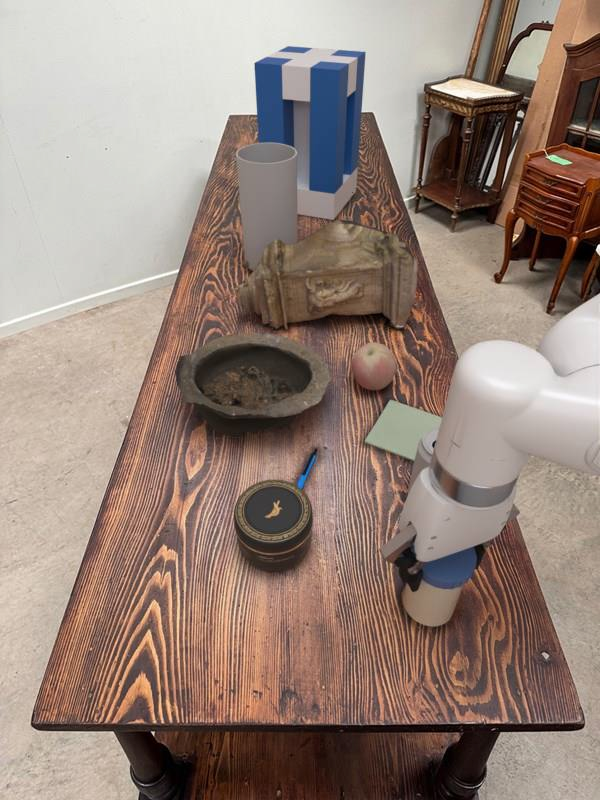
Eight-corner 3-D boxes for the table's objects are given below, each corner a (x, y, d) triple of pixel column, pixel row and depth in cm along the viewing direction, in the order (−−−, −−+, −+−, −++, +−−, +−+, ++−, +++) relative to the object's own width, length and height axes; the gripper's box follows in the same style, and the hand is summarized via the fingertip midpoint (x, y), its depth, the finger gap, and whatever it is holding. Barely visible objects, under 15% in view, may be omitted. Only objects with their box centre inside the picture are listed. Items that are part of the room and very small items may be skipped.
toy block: (356, 190, 159) (365, 51, 135) (333, 219, 144) (339, 70, 121) (290, 181, 164) (288, 46, 140) (262, 208, 150) (254, 62, 126)
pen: (318, 451, 84) (318, 446, 83) (273, 554, 71) (273, 549, 70) (313, 450, 84) (313, 445, 84) (267, 552, 71) (267, 547, 70)
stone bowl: (177, 463, 82) (166, 417, 76) (190, 368, 101) (182, 326, 95) (338, 451, 83) (340, 404, 77) (320, 360, 102) (321, 317, 97)
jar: (313, 513, 75) (314, 479, 70) (310, 579, 68) (311, 546, 63) (243, 510, 76) (238, 475, 71) (232, 575, 69) (226, 542, 63)
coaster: (452, 422, 88) (453, 421, 88) (431, 468, 81) (431, 466, 81) (389, 401, 92) (390, 399, 92) (364, 442, 85) (364, 440, 85)
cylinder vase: (255, 247, 133) (248, 140, 116) (303, 253, 131) (303, 145, 114) (237, 272, 124) (227, 160, 107) (289, 279, 122) (287, 166, 105)
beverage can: (398, 500, 77) (409, 444, 69) (421, 474, 81) (435, 417, 72) (437, 525, 74) (454, 469, 66) (460, 496, 77) (479, 440, 69)
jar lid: (399, 541, 61) (401, 532, 60) (455, 527, 63) (458, 518, 61) (425, 597, 56) (428, 589, 55) (485, 581, 58) (489, 572, 56)
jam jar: (460, 592, 67) (478, 546, 60) (445, 635, 63) (462, 592, 56) (413, 570, 69) (424, 523, 62) (395, 611, 65) (406, 566, 58)
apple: (358, 365, 99) (361, 330, 94) (398, 376, 97) (404, 340, 92) (343, 392, 94) (346, 356, 88) (385, 404, 92) (391, 368, 86)
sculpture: (424, 238, 93) (223, 256, 94) (418, 334, 106) (242, 348, 108) (407, 198, 106) (232, 214, 108) (404, 287, 119) (248, 300, 121)
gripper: (526, 416, 53) (484, 520, 65) (368, 462, 49) (354, 564, 61) (580, 472, 48) (523, 573, 60) (408, 529, 44) (384, 626, 56)
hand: (438, 568), depth 61 cm, fingers closed on jar lid, 6 cm apart
